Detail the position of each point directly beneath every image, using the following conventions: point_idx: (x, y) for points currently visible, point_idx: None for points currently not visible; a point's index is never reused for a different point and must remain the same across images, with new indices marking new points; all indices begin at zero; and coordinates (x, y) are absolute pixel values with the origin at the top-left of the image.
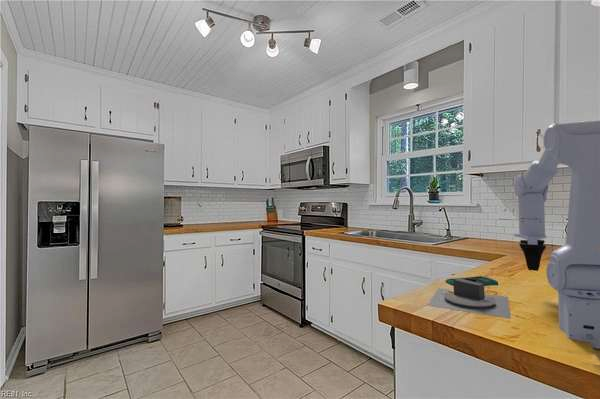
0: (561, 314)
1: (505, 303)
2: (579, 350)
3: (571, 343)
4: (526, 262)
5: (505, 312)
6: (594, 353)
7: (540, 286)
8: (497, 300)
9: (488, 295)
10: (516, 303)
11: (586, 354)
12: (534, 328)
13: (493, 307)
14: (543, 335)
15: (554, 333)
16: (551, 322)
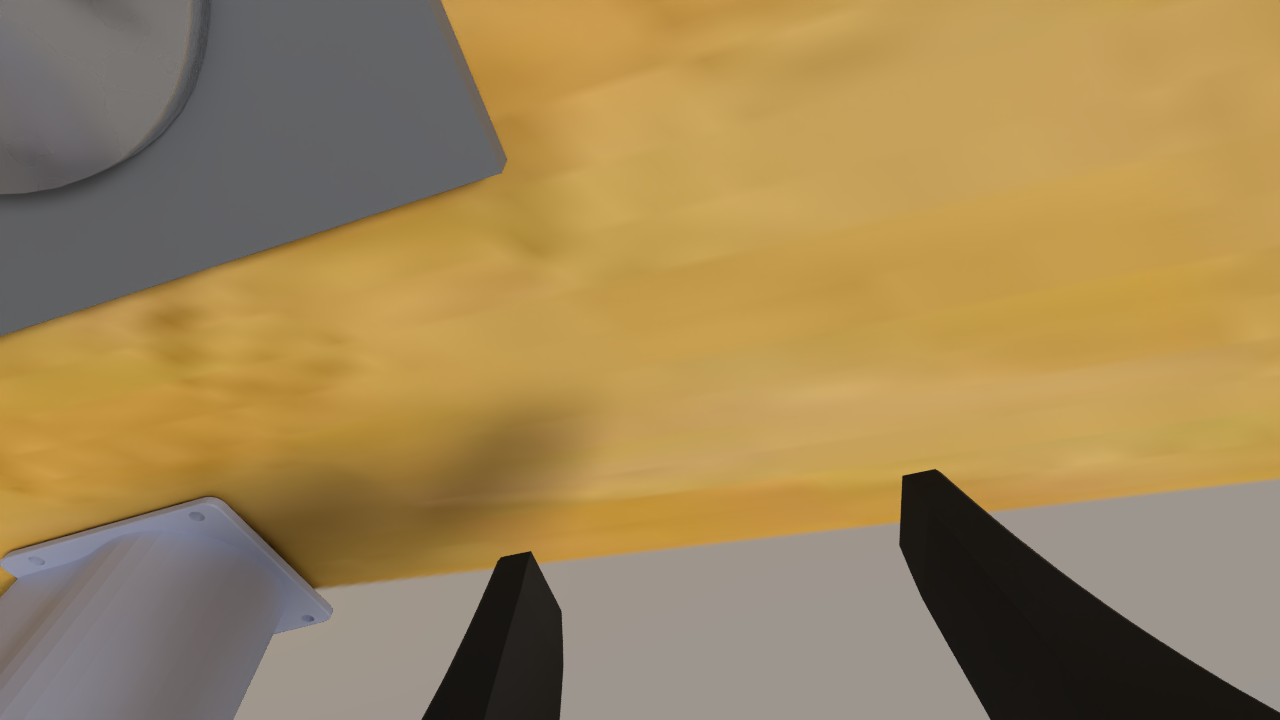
0: (18, 642)
1: (250, 223)
2: None
3: None
4: (457, 651)
5: (2, 298)
6: None
7: (1252, 230)
8: (267, 137)
9: (159, 62)
10: (499, 230)
11: None
12: (59, 441)
13: None
14: (7, 488)
15: (106, 509)
16: (275, 469)
